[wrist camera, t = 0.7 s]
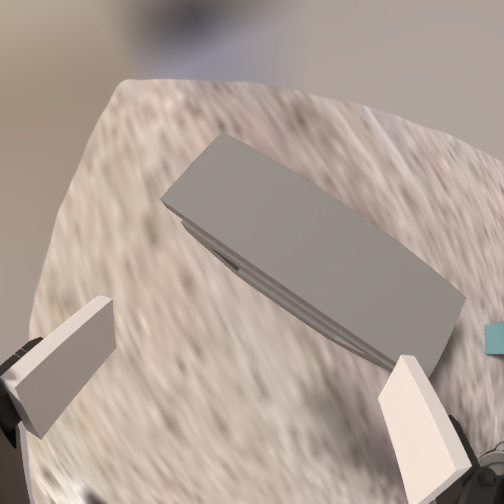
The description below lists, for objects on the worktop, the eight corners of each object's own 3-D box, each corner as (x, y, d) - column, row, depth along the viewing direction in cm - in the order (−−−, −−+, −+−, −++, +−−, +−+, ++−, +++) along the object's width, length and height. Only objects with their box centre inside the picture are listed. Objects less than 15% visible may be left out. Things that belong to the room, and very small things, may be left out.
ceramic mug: (467, 502, 20) (493, 518, 12) (454, 483, 21) (483, 500, 14) (508, 453, 21) (537, 461, 14) (499, 430, 23) (531, 437, 16)
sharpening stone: (190, 241, 32) (160, 199, 21) (232, 189, 33) (222, 131, 23) (374, 369, 28) (426, 383, 17) (408, 310, 29) (466, 297, 19)
